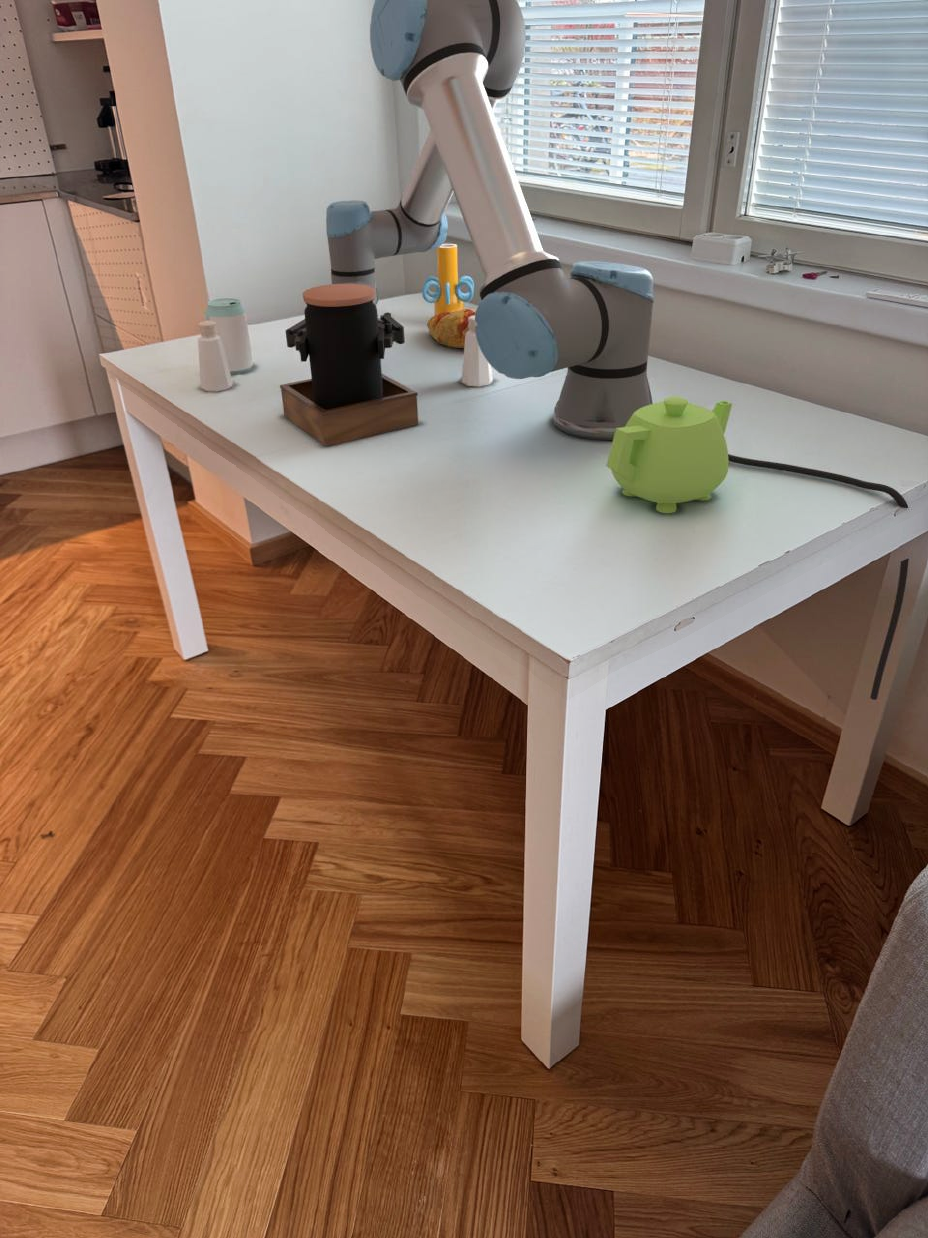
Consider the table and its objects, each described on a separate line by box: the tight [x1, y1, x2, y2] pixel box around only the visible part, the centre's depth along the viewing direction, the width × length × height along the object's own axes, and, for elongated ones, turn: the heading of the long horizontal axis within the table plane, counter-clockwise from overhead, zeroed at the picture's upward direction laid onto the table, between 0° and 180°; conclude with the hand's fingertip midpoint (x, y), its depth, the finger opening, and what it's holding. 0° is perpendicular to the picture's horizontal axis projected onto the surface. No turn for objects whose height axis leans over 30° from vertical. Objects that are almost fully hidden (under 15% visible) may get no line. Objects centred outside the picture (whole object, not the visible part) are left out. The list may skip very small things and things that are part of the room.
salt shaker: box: [197, 320, 234, 393], centre depth 159 cm, size 5×5×11 cm
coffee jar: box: [302, 283, 383, 410], centre depth 141 cm, size 11×11×18 cm
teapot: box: [605, 396, 733, 514], centre depth 118 cm, size 20×13×13 cm
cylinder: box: [421, 243, 475, 316], centre depth 192 cm, size 12×10×15 cm
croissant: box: [426, 307, 476, 349], centre depth 181 cm, size 21×10×8 cm, turn 40°
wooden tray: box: [279, 373, 419, 447], centre depth 145 cm, size 16×16×5 cm
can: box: [204, 297, 254, 375], centre depth 168 cm, size 7×7×12 cm
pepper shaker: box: [461, 315, 494, 388], centre depth 159 cm, size 5×5×11 cm
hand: (341, 350), depth 137 cm, fingers closed on coffee jar, 11 cm apart
